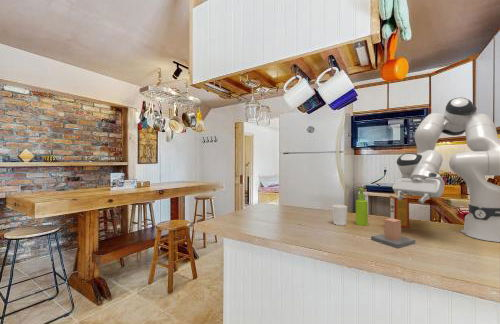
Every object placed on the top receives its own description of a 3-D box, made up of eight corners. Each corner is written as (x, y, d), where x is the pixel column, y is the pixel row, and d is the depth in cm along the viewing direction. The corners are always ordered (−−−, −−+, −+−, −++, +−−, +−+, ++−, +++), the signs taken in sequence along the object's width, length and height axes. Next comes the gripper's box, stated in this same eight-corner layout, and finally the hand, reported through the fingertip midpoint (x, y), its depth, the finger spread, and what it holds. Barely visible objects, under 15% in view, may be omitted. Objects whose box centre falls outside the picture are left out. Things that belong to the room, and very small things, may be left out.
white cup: (350, 224, 134) (350, 206, 134) (340, 226, 130) (340, 208, 130) (338, 221, 141) (338, 204, 141) (329, 223, 137) (329, 205, 137)
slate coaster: (388, 235, 114) (388, 232, 114) (415, 243, 103) (415, 239, 103) (371, 239, 108) (371, 236, 108) (397, 248, 98) (397, 244, 98)
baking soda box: (390, 222, 137) (389, 194, 137) (403, 223, 135) (402, 194, 135) (394, 227, 128) (394, 196, 128) (409, 227, 126) (408, 197, 126)
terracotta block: (391, 235, 108) (390, 218, 108) (401, 238, 104) (400, 220, 104) (384, 237, 106) (384, 219, 106) (394, 240, 102) (394, 221, 102)
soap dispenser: (363, 222, 138) (363, 187, 138) (369, 225, 131) (369, 188, 131) (353, 222, 138) (352, 187, 137) (359, 225, 131) (358, 188, 131)
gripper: (397, 172, 123) (384, 193, 118) (443, 174, 104) (431, 199, 100) (402, 181, 125) (390, 201, 120) (449, 184, 106) (437, 209, 102)
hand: (409, 200), depth 110 cm, fingers open, 8 cm apart
